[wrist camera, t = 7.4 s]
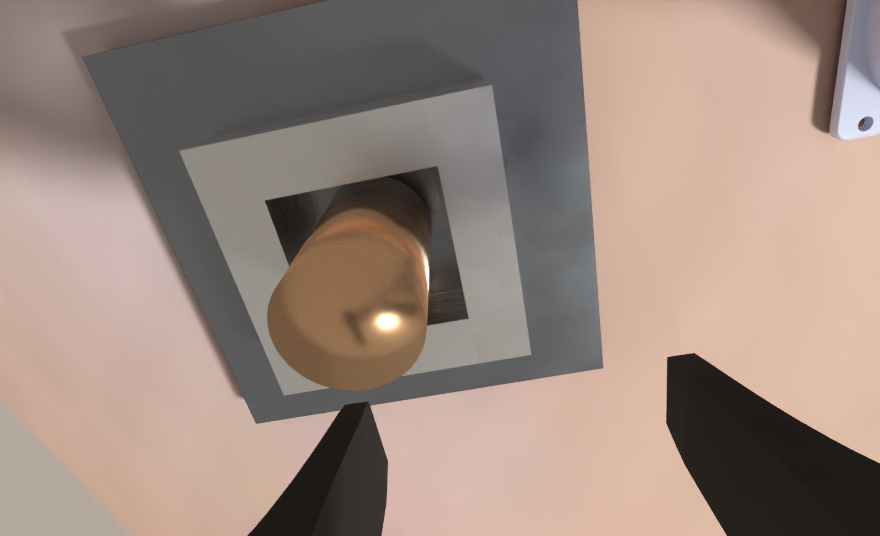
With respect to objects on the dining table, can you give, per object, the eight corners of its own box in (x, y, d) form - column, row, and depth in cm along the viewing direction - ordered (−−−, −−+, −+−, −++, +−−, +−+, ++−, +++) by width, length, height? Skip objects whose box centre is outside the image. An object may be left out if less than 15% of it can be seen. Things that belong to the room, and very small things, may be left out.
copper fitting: (425, 170, 18) (416, 247, 11) (436, 270, 20) (434, 384, 13) (316, 182, 18) (247, 263, 12) (337, 279, 20) (287, 396, 13)
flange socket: (565, -52, 16) (597, -73, 13) (596, 354, 23) (622, 407, 19) (101, 55, 17) (24, 61, 14) (262, 408, 24) (236, 466, 21)
